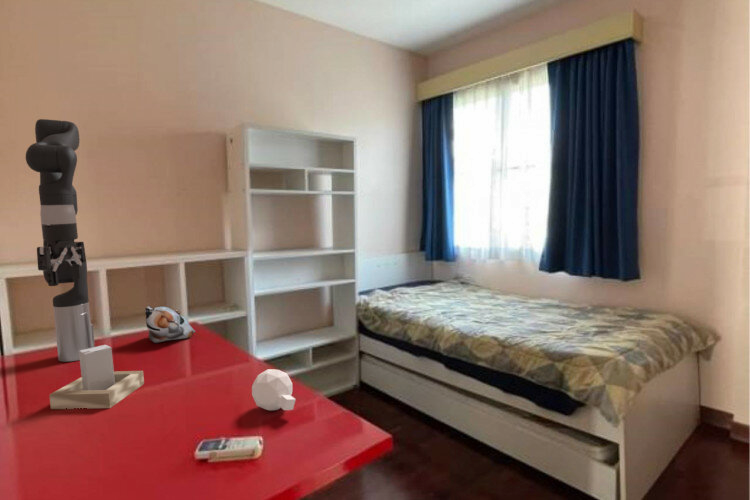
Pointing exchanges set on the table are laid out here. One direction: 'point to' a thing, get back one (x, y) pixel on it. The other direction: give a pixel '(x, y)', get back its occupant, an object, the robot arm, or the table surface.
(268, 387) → the perfume bottle
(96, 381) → the skincare box
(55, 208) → the robot arm
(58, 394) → the square wooden frame
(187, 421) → the table surface
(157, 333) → the lucky cat figurine
